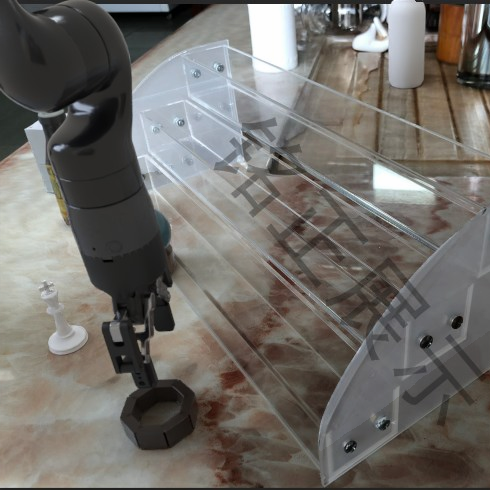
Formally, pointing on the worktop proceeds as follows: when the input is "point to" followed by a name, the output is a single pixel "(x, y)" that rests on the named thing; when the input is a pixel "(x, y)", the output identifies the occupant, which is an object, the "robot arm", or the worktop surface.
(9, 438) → the worktop surface
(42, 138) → the small box
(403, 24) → the white plastic bottle
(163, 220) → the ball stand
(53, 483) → the worktop surface
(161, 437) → the walnut ring
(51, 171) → the sauce bottle
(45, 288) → the chess piece
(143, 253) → the robot arm
